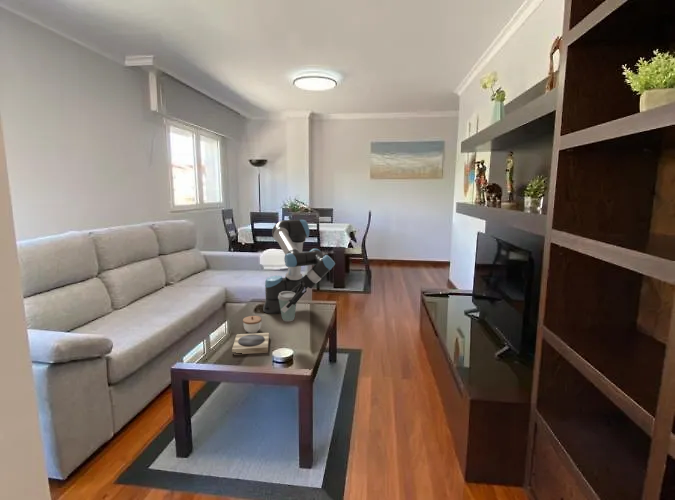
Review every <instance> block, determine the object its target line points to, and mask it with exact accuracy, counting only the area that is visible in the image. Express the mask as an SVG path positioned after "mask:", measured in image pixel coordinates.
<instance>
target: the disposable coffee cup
mask: <svg viewBox="0 0 675 500" xmlns="http://www.w3.org/2000/svg"><path fill="white" fill-rule="evenodd" d="M295 294H296V293H294V292H291V291H282V292H280V293H279V296H278V299H279V304H280V310H281V309H282V308H283V307H284V306H285V305H286V304H287V303H288V302H289V300H291V299H292V298H293V297H294V295H295ZM296 311H297V303H296V304H295V305H292V306H291V307H290V308H289V309H288V310H287V311H286V312H285V313H284V312H283V311H282V310H281V313H280V314H281V319H282V320H283V321H284V322H292V321H294V320H295V316H296Z"/></svg>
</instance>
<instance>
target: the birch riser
mask: <svg viewBox="0 0 675 500" xmlns="http://www.w3.org/2000/svg"><path fill="white" fill-rule="evenodd" d="M269 344H270V332H260V333H259V332H256V333H240V334H239V333H237V334H236V335H235V338H234V343H233V345H232V348H231V352H236V353H242V354H241V355H246V354H263V353H265V354H266V353H267V354H268V353H269Z"/></svg>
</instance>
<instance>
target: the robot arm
mask: <svg viewBox="0 0 675 500" xmlns="http://www.w3.org/2000/svg"><path fill="white" fill-rule="evenodd" d="M271 233H272V234H271V235H272V238H273V239H274V240H275V241H276V242H277V244H278V245H279V247H280V248H281V250H282V252H283V253H284V260H283V261H284V265H285V266H286V267H287V268H288V269H287V272H286V274H285V277H283V276H282V275H272V276H269V277H267V278H266V279H265V282H264V284H265V285H264V289H265V290H264V291H265V301H264V304H263V307H262V309H263V310H262V311H263V312H264V313H266V314H270V315H273V314H274V315H275V314H281V310H282V311H283V312H284V313H285V312H286V311H287V310H288V309H289V308H290V307H291V306H292V305H295V304H296V305H297V303H298V302H299V300H301V298H302V297H303V295H305V294H306V293H307V289H308V288H309V289H313V288H314V287H315V286H316V284H317V283H318V282H321V281H322V279H323V278H324V277H325V276H326V275H327V273H329V272H330V271H331V270H332V269H333V268H334V267H335V265H336V262H335V261H334V260H333V258H332V257H331V256H329V255H328V254H325V255H324V253H323V252H322V251H321V250H320V249H319V248H312V249H310V250H309V251H305V252H304V251H303V249H304V248H303V247H304V243H305V242H306V239H307V238H309V236H310V226H309V224H308V221H307V220H305V219H287V220H286V219H283V220H280V221H278V222H277V223H275V224H274V226H273V227H272V230H271ZM305 266H306V267H307V266H313V267H311V269H310V270H309V271H308V272H307V273H306V274H305V275H304V276H303V273H301V272H302V270H301V269H302V267H305ZM282 291H291V292H294V293H296V294H295V295H294V297H293V298H292V299H291V300H289V302H288V303H287V304H286V305H285V306H284V307H283V308H282V309H281V310H280V304H279V299H278V296H279V293H280V292H282Z"/></svg>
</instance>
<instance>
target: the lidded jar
mask: <svg viewBox="0 0 675 500" xmlns="http://www.w3.org/2000/svg"><path fill="white" fill-rule="evenodd" d="M242 325H243V328H244V331H245V332H247V334H254V333H259V330H261V327H262V317H261V316H259V315H249V316H245V317H244V318H243V319H242Z"/></svg>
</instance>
